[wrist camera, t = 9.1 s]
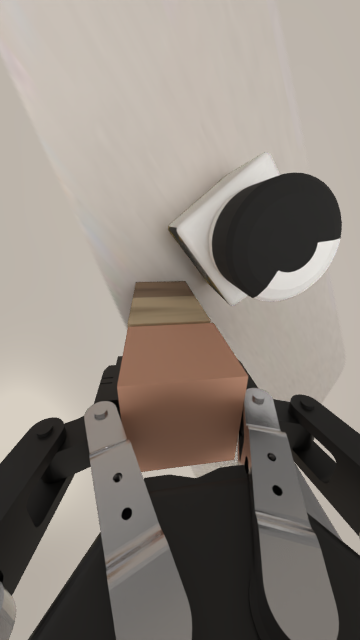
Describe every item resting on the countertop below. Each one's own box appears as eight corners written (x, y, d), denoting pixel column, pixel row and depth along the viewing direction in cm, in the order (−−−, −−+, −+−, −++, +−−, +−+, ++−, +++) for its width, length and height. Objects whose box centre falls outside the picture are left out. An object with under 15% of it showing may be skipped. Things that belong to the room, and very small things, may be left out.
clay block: (213, 323, 13) (248, 376, 9) (208, 388, 15) (233, 459, 11) (128, 326, 12) (116, 386, 8) (134, 394, 14) (128, 473, 10)
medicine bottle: (166, 227, 20) (187, 231, 9) (229, 172, 19) (336, 106, 8) (208, 284, 23) (263, 340, 12) (265, 240, 22) (381, 257, 11)
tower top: (192, 347, 20) (205, 384, 15) (137, 351, 19) (134, 390, 15) (194, 295, 18) (210, 320, 13) (132, 297, 17) (127, 324, 13)
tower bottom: (184, 324, 25) (192, 347, 20) (139, 327, 24) (137, 351, 19) (185, 281, 23) (194, 295, 18) (135, 282, 22) (132, 297, 17)
